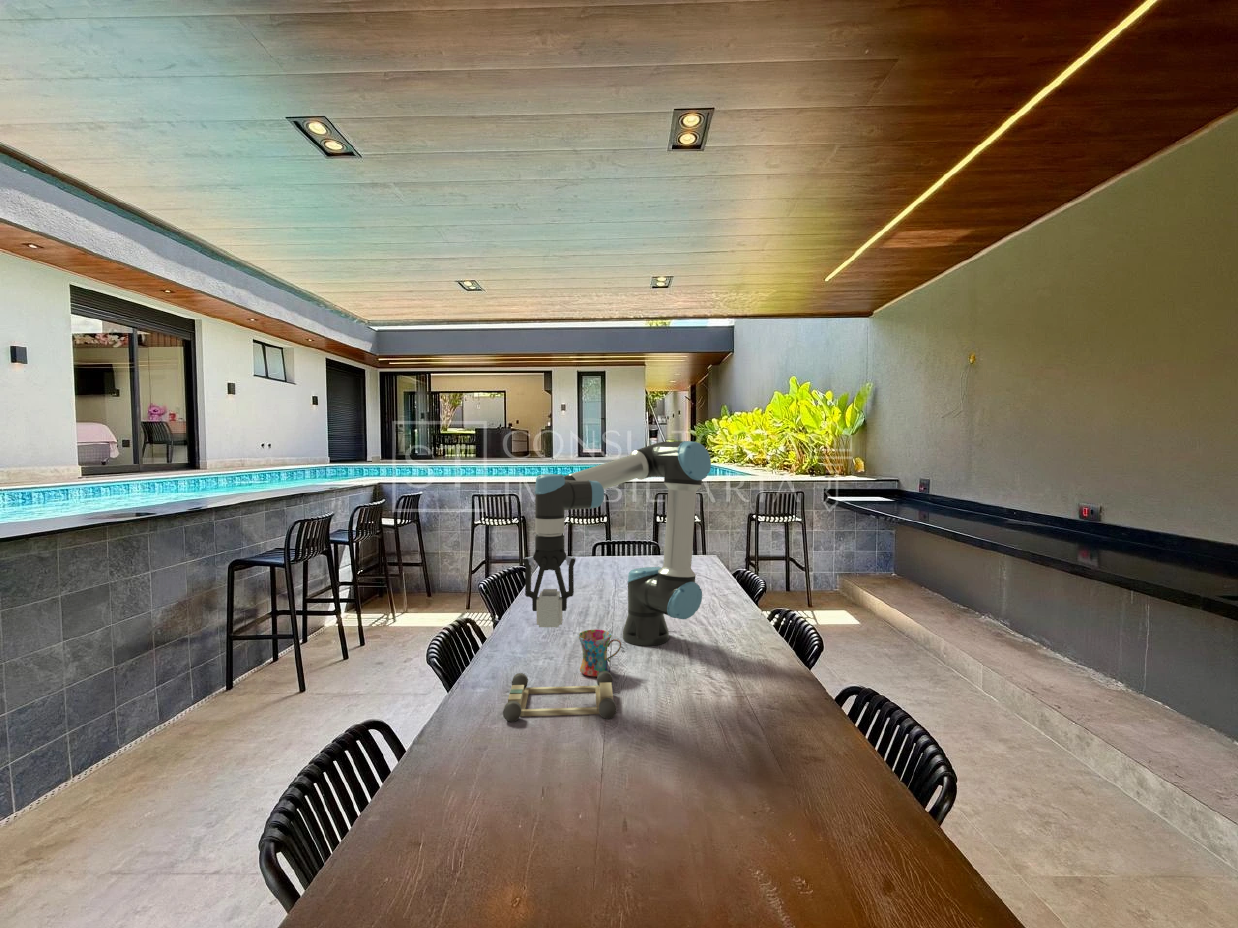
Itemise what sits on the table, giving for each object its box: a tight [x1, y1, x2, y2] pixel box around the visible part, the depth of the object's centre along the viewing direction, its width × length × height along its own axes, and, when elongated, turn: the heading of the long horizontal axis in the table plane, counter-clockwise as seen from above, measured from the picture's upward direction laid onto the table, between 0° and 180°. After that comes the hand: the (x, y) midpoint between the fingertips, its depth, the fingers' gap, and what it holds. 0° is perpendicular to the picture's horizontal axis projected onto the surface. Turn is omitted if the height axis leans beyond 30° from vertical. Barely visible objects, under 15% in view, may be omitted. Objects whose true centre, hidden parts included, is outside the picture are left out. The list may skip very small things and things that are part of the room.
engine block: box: [538, 588, 561, 628], centre depth 147 cm, size 5×5×9 cm
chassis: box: [502, 671, 617, 723], centre depth 139 cm, size 26×18×4 cm
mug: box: [577, 629, 622, 677], centre depth 157 cm, size 12×9×11 cm
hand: (549, 622), depth 147 cm, fingers closed on engine block, 5 cm apart
